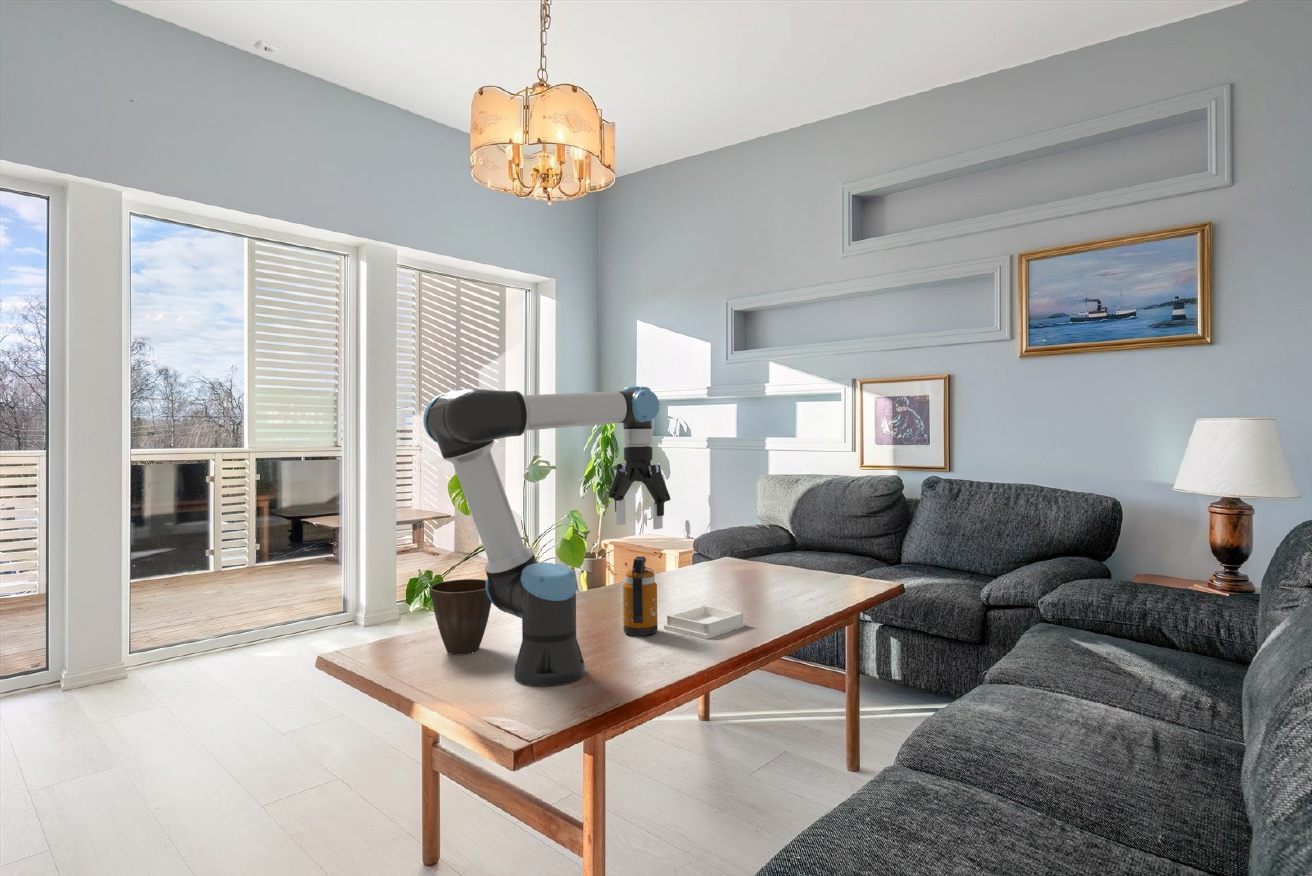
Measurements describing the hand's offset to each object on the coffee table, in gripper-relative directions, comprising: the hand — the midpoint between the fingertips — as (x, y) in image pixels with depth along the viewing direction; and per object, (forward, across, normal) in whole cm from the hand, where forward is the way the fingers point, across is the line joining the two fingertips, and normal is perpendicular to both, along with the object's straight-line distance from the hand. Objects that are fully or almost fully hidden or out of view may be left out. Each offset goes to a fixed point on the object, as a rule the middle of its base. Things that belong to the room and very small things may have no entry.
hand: (639, 526), depth 186 cm
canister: (+28, 0, 0) cm, 28 cm away
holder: (+28, -9, -16) cm, 33 cm away
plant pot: (+28, +22, +39) cm, 53 cm away
